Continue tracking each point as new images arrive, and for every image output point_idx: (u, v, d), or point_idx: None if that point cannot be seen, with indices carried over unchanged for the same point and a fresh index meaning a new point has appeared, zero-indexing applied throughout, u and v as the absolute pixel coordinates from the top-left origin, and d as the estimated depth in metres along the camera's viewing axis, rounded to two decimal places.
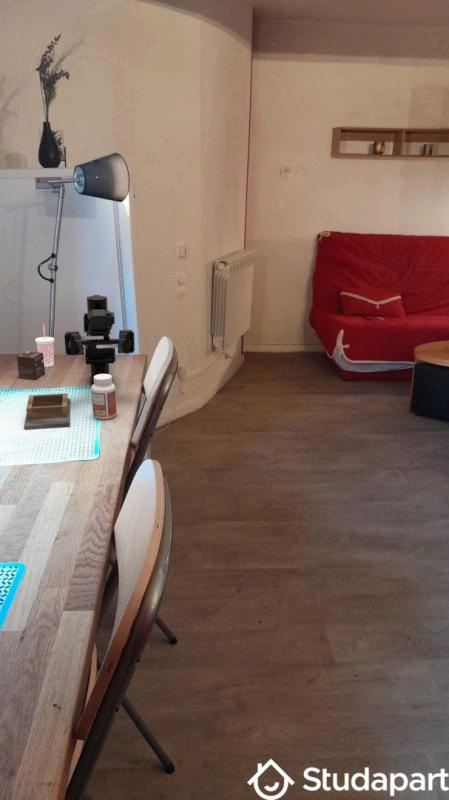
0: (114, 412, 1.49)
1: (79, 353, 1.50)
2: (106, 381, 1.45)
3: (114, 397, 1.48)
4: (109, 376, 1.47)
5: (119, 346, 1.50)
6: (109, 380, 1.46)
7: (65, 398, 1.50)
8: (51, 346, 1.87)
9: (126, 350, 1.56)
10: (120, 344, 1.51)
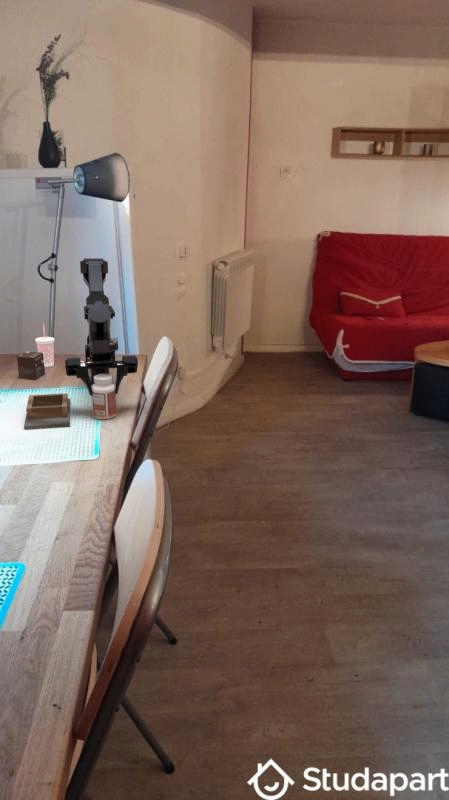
0: (114, 412, 1.49)
1: None
2: (106, 381, 1.45)
3: (114, 397, 1.48)
4: (109, 376, 1.47)
5: (117, 386, 1.47)
6: (109, 380, 1.46)
7: (65, 398, 1.50)
8: (51, 346, 1.87)
9: (123, 374, 1.52)
10: (118, 382, 1.48)
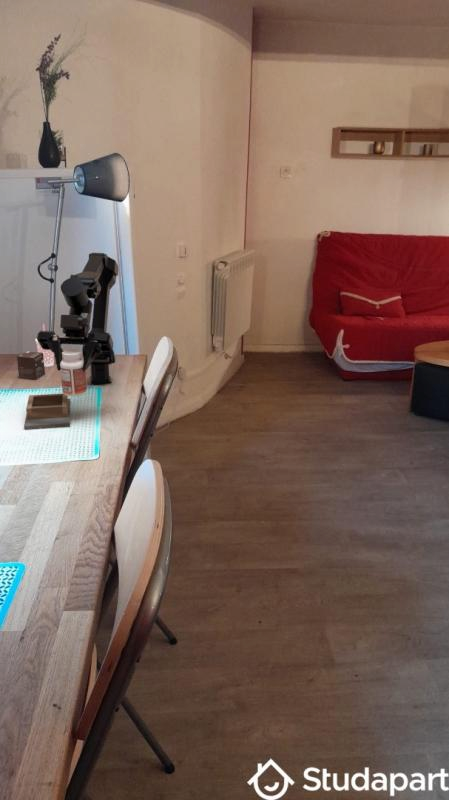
0: (82, 390, 1.45)
1: None
2: (72, 357, 1.41)
3: (82, 374, 1.44)
4: (77, 352, 1.43)
5: (85, 363, 1.43)
6: (76, 356, 1.42)
7: (65, 398, 1.50)
8: None
9: (98, 352, 1.48)
10: (86, 359, 1.43)
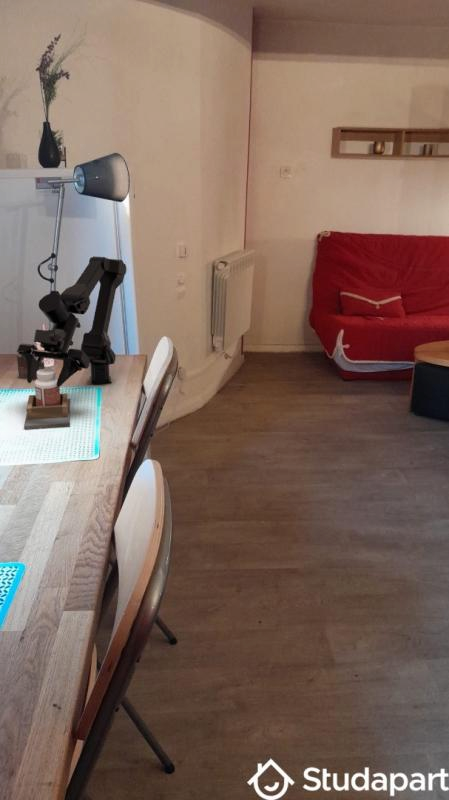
0: None
1: None
2: (44, 377, 1.43)
3: (53, 394, 1.45)
4: (51, 372, 1.45)
5: (59, 379, 1.44)
6: (48, 376, 1.44)
7: (65, 398, 1.50)
8: None
9: (77, 369, 1.48)
10: (61, 375, 1.44)
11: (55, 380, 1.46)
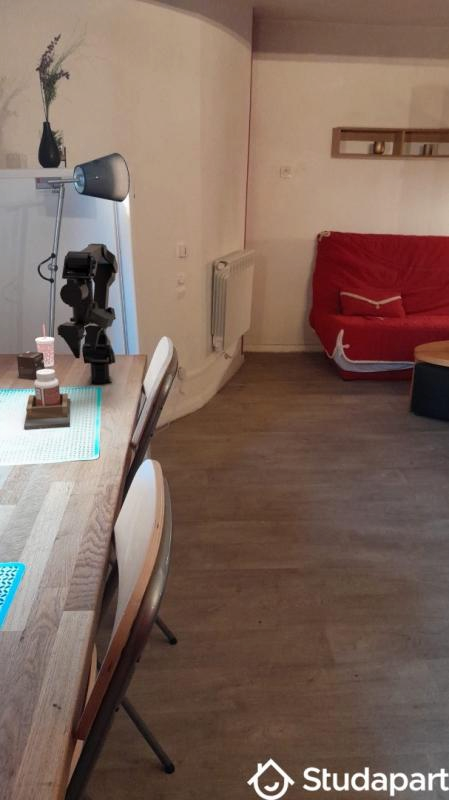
0: None
1: (71, 348, 1.52)
2: (44, 377, 1.44)
3: (53, 394, 1.46)
4: (50, 372, 1.45)
5: (96, 344, 1.62)
6: (47, 376, 1.44)
7: (65, 398, 1.50)
8: (51, 346, 1.87)
9: None
10: (97, 340, 1.62)
11: (55, 380, 1.46)
